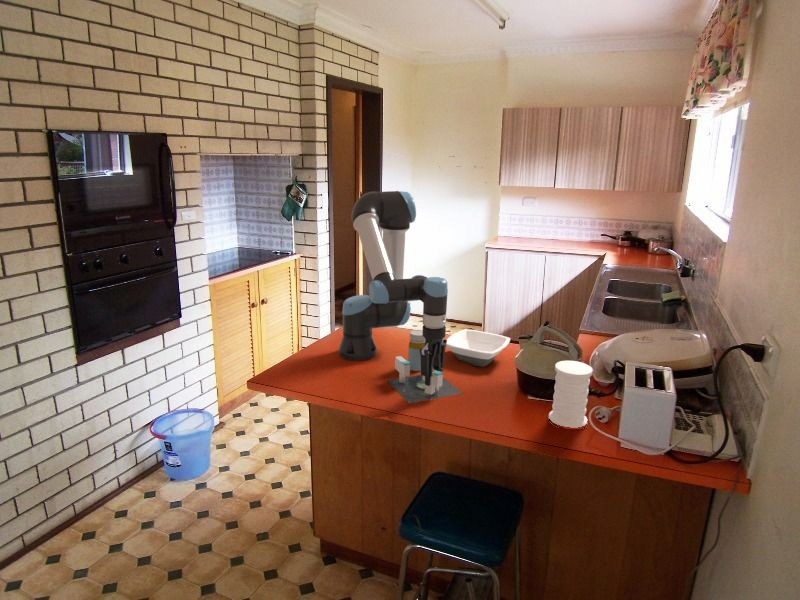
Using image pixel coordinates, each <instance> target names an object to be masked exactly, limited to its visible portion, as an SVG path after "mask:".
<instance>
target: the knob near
mask: <svg viewBox="0 0 800 600" xmlns="http://www.w3.org/2000/svg"><path fill="white" fill-rule="evenodd" d="M394 369H395V370H396V371H398V373H399V378H398V379H399V382H400V383H404V382H405V377H410V376H411V370H410V362H409V361H408V360H406V359H405V358H404V357H403V356H402V355H399V356H395V357H394Z"/></svg>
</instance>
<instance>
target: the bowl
mask: <svg viewBox="0 0 800 600" xmlns="http://www.w3.org/2000/svg"><path fill="white" fill-rule="evenodd" d="M446 340H447V343H446V347H447V348H448V349H449V351H451V352H452V353H453V354H454V355H455V356H456V358H457V359H458V360H460V361H462V362H466V363H468V364H469V365H470V366H474V367H475V366H476V367H481V368H484V367H487V366H489V364H491V362H492V361H494V359H495V358H496V357H497V356H498V355H499V354H500V353H501V352H502V351H503V350H504V349H505V348H506V347H507V346H508V345H509V344H510V342H511V337H508V336H505V335H501V334H496V333H493V332H486V331H480V330H475V329H466V328H465V329H461V330H459V331H456V332H455V333H453V334H451V335H450V336H449V337H448V338H446Z"/></svg>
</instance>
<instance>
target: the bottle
mask: <svg viewBox="0 0 800 600" xmlns="http://www.w3.org/2000/svg"><path fill="white" fill-rule="evenodd" d="M422 333H423V329H413V330H411V331H410V332H409V342H408V359H407V361H409V362H410V371H414V372H421V355H420V348H422V349H423V348H424V347H425V340H426V339H425V338H424V337H423V335H422Z"/></svg>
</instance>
